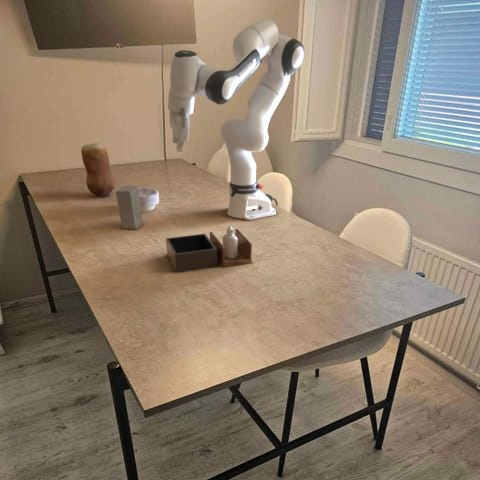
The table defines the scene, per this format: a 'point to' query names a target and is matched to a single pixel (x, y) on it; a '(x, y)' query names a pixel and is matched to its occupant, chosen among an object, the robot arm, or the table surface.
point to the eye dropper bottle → (230, 244)
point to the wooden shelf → (243, 248)
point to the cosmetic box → (129, 207)
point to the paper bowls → (148, 199)
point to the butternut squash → (97, 170)
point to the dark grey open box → (191, 252)
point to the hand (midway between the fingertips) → (177, 146)
